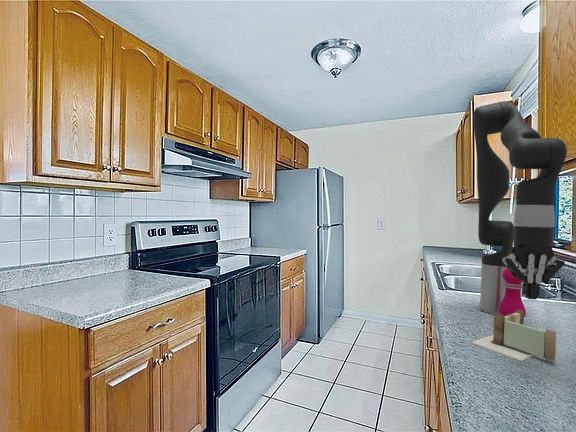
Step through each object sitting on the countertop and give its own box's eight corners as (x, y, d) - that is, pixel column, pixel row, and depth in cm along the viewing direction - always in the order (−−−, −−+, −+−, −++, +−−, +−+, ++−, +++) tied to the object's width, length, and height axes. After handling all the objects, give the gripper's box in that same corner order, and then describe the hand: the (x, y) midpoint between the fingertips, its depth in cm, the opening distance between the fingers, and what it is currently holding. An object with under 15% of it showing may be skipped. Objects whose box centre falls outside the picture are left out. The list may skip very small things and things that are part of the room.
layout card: (501, 332, 97) (501, 331, 97) (549, 348, 87) (549, 346, 87) (471, 343, 88) (471, 341, 88) (521, 361, 78) (521, 359, 78)
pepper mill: (517, 330, 99) (520, 265, 99) (493, 322, 106) (495, 261, 105) (530, 327, 103) (532, 264, 102) (506, 319, 109) (508, 260, 109)
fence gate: (502, 344, 86) (504, 319, 86) (506, 342, 87) (507, 317, 87) (552, 361, 77) (554, 333, 77) (556, 359, 78) (557, 331, 78)
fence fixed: (515, 334, 96) (516, 308, 96) (524, 337, 94) (526, 310, 94) (491, 343, 89) (492, 315, 88) (500, 346, 86) (502, 317, 86)
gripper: (553, 224, 78) (550, 295, 79) (495, 223, 80) (492, 292, 80) (577, 226, 71) (573, 305, 71) (511, 224, 72) (508, 301, 73)
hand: (530, 298), depth 76 cm, fingers closed
